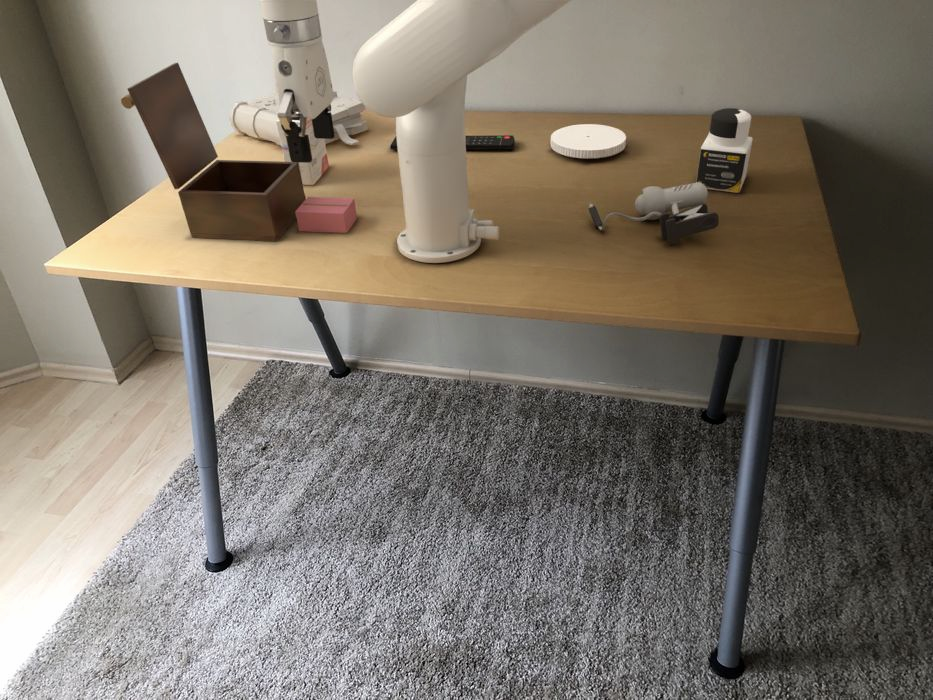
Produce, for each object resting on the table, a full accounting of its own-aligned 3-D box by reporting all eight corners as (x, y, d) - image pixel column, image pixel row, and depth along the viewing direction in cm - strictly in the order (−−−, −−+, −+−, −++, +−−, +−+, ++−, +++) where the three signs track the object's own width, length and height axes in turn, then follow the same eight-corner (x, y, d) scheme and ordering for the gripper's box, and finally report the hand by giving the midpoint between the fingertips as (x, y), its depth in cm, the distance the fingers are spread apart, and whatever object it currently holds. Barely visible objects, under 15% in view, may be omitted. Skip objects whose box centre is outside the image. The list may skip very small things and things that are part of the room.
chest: (307, 205, 124) (298, 161, 119) (276, 241, 114) (266, 194, 109) (228, 202, 127) (216, 159, 122) (191, 237, 116) (177, 192, 112)
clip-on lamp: (596, 262, 109) (721, 239, 105) (588, 227, 105) (718, 201, 101) (592, 220, 118) (707, 197, 113) (585, 186, 114) (704, 161, 110)
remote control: (396, 142, 146) (395, 135, 146) (515, 142, 143) (515, 135, 142) (391, 152, 142) (390, 145, 141) (513, 152, 139) (513, 145, 138)
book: (317, 164, 139) (310, 124, 135) (231, 136, 154) (222, 100, 150) (388, 134, 151) (384, 97, 146) (302, 111, 166) (296, 76, 161)
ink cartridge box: (305, 166, 138) (290, 87, 130) (330, 167, 137) (316, 88, 129) (287, 185, 132) (270, 103, 123) (313, 185, 131) (298, 103, 122)
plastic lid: (625, 137, 142) (626, 124, 141) (625, 164, 131) (626, 150, 130) (553, 136, 145) (553, 123, 143) (547, 163, 134) (547, 149, 132)
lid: (177, 62, 113) (147, 68, 115) (131, 87, 103) (99, 94, 104) (218, 156, 122) (189, 161, 123) (179, 188, 111) (148, 193, 113)
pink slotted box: (357, 217, 119) (354, 197, 117) (346, 233, 115) (343, 212, 113) (311, 215, 121) (307, 196, 118) (299, 231, 116) (294, 211, 114)
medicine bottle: (694, 188, 122) (704, 116, 115) (703, 172, 127) (713, 103, 120) (739, 193, 119) (752, 121, 112) (745, 177, 124) (758, 106, 117)
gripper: (295, 46, 93) (317, 172, 103) (339, 15, 107) (354, 130, 117) (241, 45, 95) (267, 170, 105) (291, 15, 108) (311, 129, 118)
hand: (313, 149), depth 111 cm, fingers open, 9 cm apart
